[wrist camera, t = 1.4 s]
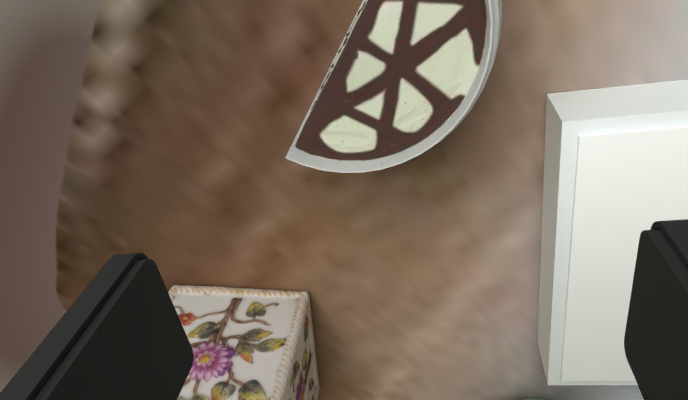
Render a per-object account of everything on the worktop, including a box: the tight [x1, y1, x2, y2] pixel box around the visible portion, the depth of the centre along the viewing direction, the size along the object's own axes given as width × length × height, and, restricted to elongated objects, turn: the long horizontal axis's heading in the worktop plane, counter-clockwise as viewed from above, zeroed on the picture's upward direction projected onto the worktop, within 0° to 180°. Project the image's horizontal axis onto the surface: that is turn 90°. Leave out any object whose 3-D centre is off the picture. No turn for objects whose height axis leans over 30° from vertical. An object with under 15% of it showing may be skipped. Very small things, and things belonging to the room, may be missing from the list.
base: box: [537, 79, 688, 385], centre depth 32 cm, size 14×20×4 cm
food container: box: [286, 0, 503, 173], centre depth 24 cm, size 12×6×10 cm, turn 153°
